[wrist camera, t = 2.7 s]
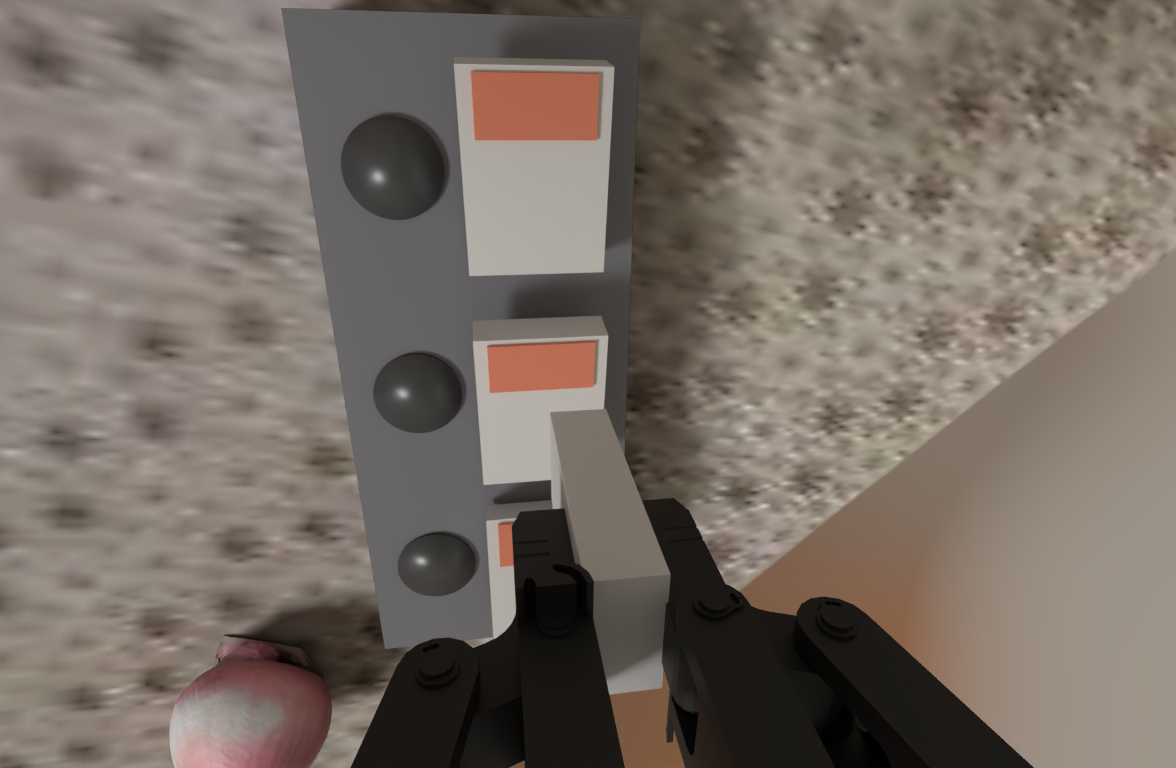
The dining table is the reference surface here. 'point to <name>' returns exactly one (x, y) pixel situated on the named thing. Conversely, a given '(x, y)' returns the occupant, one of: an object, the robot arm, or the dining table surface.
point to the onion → (252, 710)
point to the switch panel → (436, 281)
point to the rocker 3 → (504, 559)
